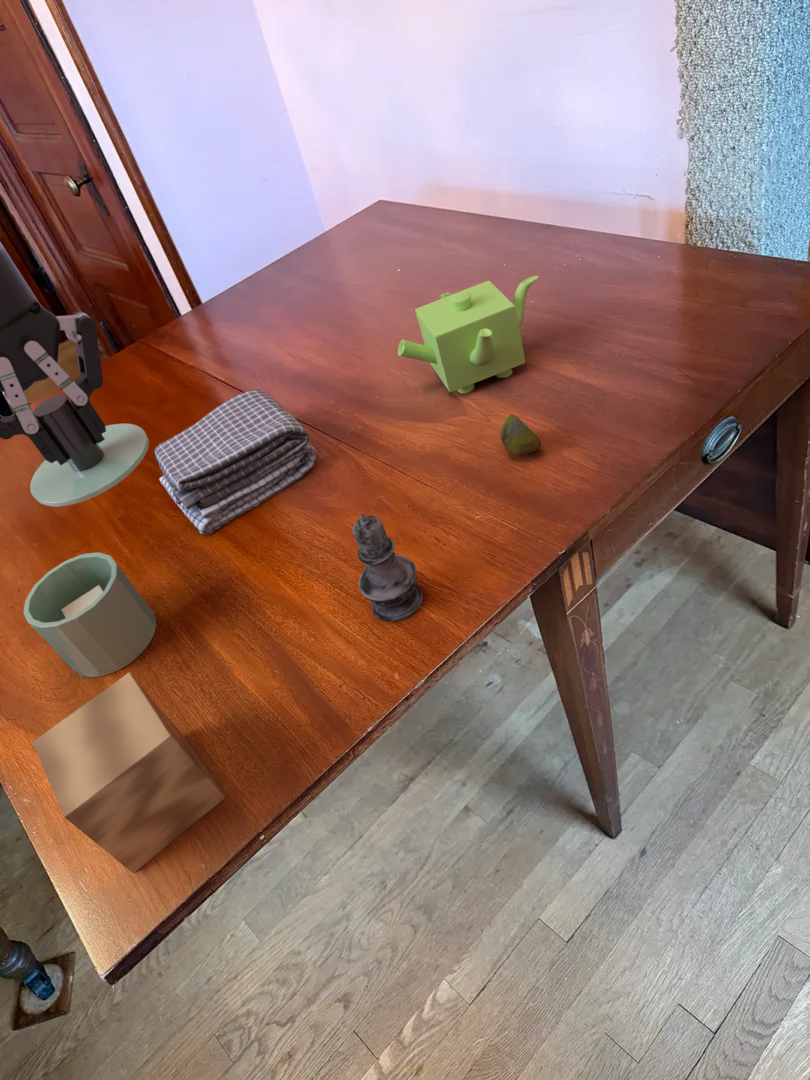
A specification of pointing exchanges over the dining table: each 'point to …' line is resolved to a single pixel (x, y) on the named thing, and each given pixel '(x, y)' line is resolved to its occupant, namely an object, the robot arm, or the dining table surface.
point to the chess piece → (385, 572)
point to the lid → (83, 455)
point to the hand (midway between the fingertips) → (80, 448)
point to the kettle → (471, 335)
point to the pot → (91, 615)
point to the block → (82, 602)
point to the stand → (126, 774)
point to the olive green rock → (518, 436)
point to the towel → (234, 459)
